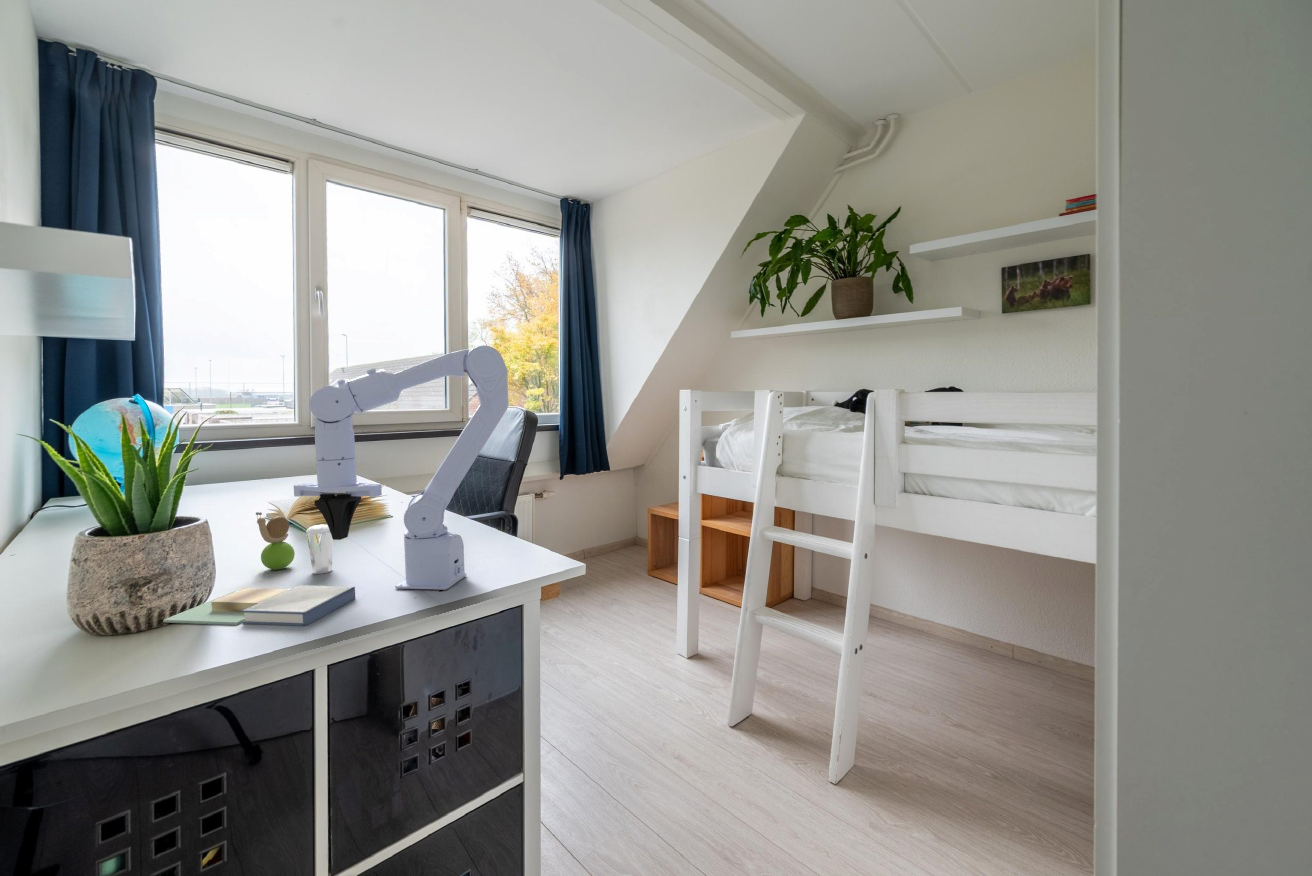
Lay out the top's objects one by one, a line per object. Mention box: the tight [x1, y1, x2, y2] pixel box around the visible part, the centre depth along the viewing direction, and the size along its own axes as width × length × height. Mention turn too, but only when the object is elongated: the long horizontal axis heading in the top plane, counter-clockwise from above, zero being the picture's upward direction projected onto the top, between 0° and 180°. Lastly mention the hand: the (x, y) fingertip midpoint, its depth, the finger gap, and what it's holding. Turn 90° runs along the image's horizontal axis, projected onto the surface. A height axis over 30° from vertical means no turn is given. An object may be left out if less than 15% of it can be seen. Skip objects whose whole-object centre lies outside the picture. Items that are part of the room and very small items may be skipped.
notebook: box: [242, 584, 356, 627], centre depth 85 cm, size 10×11×2 cm
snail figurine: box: [255, 511, 296, 571], centre depth 105 cm, size 5×6×12 cm
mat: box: [163, 591, 245, 626], centre depth 86 cm, size 12×12×1 cm
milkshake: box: [305, 523, 334, 575], centre depth 104 cm, size 5×5×10 cm
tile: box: [211, 587, 289, 612], centre depth 86 cm, size 8×6×2 cm
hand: (340, 538), depth 92 cm, fingers closed
